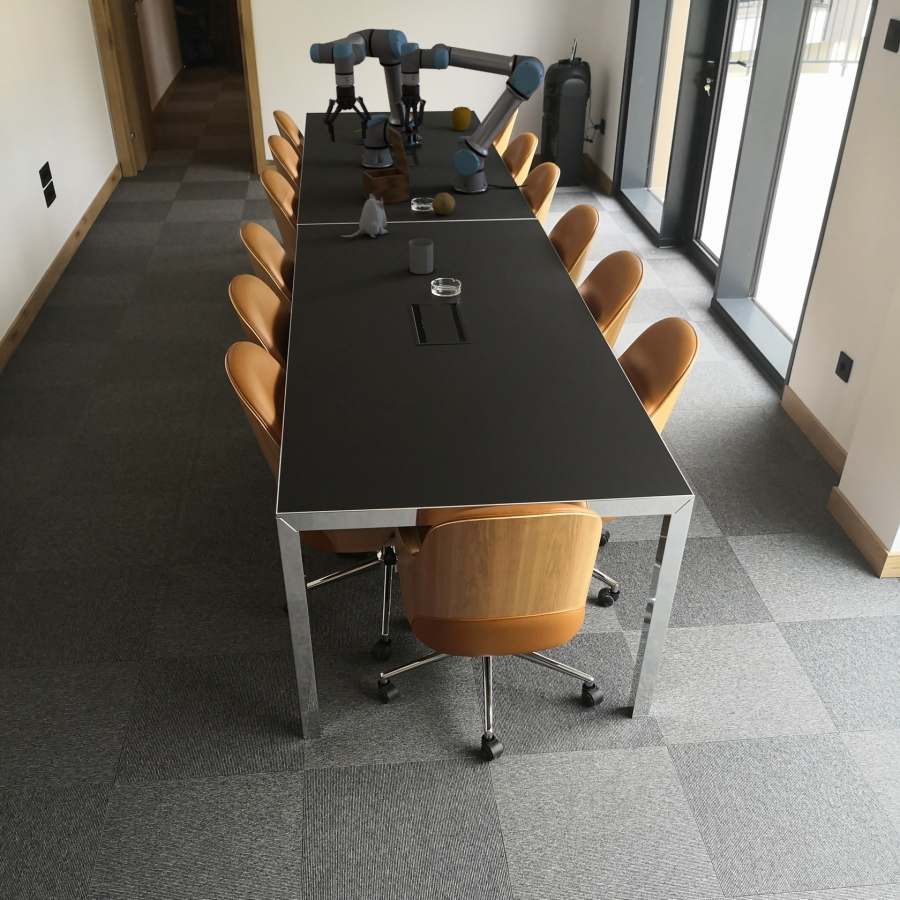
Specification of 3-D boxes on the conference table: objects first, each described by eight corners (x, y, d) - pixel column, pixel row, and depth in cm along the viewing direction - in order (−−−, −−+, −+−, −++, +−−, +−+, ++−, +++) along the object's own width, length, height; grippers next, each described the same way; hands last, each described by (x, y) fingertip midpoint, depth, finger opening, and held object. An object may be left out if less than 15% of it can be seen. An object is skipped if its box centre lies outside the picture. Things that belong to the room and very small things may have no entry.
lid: (398, 133, 362) (417, 126, 364) (387, 127, 371) (406, 120, 373) (407, 173, 372) (426, 166, 374) (397, 166, 382) (415, 159, 383)
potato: (453, 208, 369) (453, 189, 365) (456, 218, 357) (456, 199, 353) (431, 208, 368) (430, 189, 364) (432, 218, 356) (432, 199, 352)
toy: (393, 232, 342) (392, 194, 333) (348, 247, 327) (345, 208, 319) (378, 227, 347) (376, 190, 339) (332, 242, 332) (330, 203, 324)
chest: (373, 205, 373) (372, 178, 367) (364, 197, 382) (362, 171, 376) (409, 200, 379) (408, 174, 373) (399, 192, 388) (398, 167, 382)
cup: (409, 265, 311) (408, 238, 306) (432, 265, 312) (431, 238, 307) (410, 274, 304) (409, 246, 299) (433, 273, 305) (433, 246, 299)
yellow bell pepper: (471, 132, 486) (471, 108, 479) (451, 132, 486) (451, 108, 479) (470, 128, 495) (471, 104, 488) (452, 128, 495) (452, 104, 488)
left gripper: (318, 89, 342) (322, 144, 353) (377, 84, 350) (379, 138, 362) (312, 86, 348) (317, 140, 359) (371, 81, 356) (373, 134, 368)
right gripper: (397, 86, 354) (399, 146, 367) (430, 84, 359) (431, 142, 372) (390, 83, 360) (392, 142, 373) (423, 81, 365) (424, 138, 378)
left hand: (348, 139), depth 361 cm, fingers open, 13 cm apart
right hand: (411, 142), depth 372 cm, fingers closed on lid, 2 cm apart
